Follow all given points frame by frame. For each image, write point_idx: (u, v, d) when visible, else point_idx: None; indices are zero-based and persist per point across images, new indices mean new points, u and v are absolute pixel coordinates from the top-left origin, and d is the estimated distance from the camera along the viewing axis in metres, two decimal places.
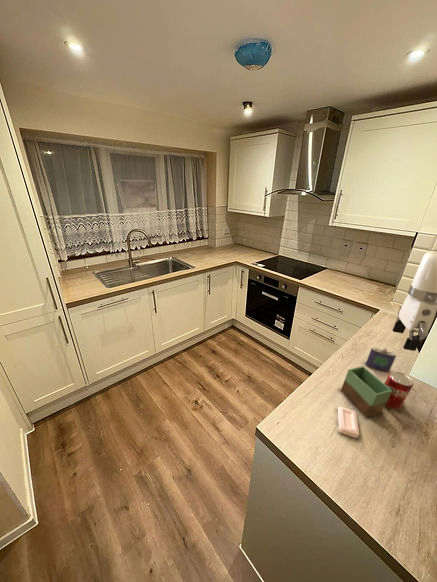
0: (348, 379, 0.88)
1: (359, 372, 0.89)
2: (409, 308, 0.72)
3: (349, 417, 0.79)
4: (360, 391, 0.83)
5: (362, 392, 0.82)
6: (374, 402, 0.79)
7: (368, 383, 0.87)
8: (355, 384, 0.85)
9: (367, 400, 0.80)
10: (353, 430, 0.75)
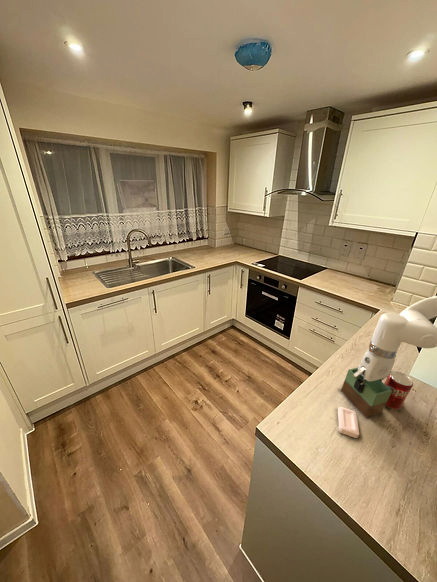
0: (348, 379, 0.88)
1: None
2: None
3: (350, 417, 0.79)
4: None
5: (362, 392, 0.82)
6: (374, 402, 0.79)
7: (368, 383, 0.87)
8: None
9: (367, 400, 0.80)
10: (353, 430, 0.75)
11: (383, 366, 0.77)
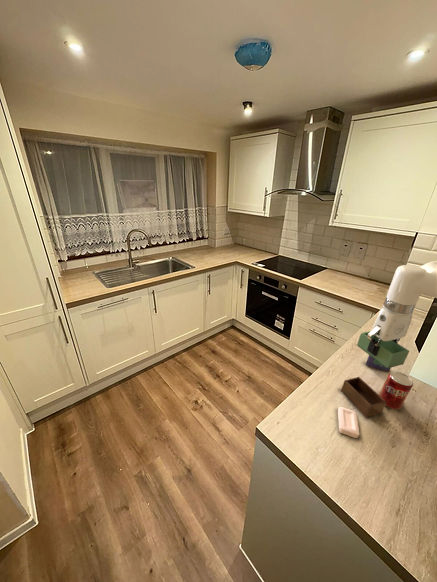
0: (361, 343, 0.83)
1: None
2: None
3: (350, 417, 0.79)
4: None
5: (377, 354, 0.77)
6: (390, 363, 0.73)
7: (382, 347, 0.82)
8: None
9: (382, 362, 0.75)
10: (353, 430, 0.75)
11: (400, 323, 0.72)
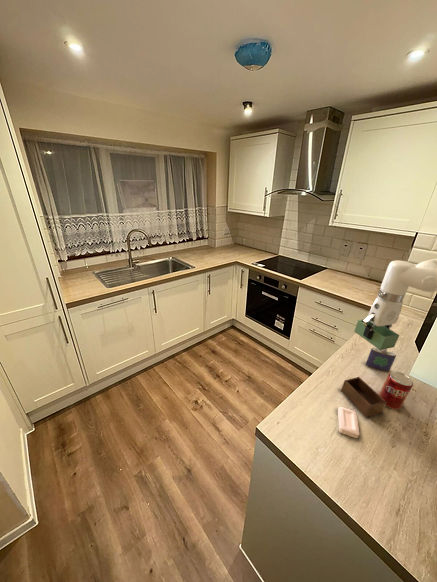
0: (358, 329, 0.94)
1: None
2: None
3: (350, 417, 0.79)
4: None
5: (371, 338, 0.89)
6: (383, 345, 0.85)
7: None
8: None
9: (376, 345, 0.87)
10: (353, 430, 0.75)
11: (391, 311, 0.83)
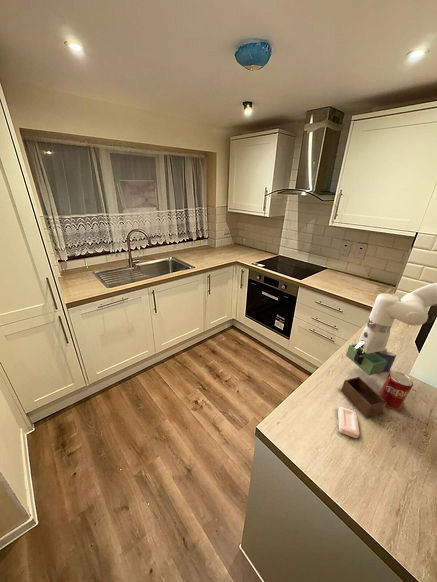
0: (349, 354, 1.00)
1: None
2: None
3: (350, 417, 0.79)
4: None
5: (361, 364, 0.94)
6: (371, 371, 0.91)
7: (366, 357, 0.99)
8: None
9: (365, 370, 0.93)
10: (353, 430, 0.75)
11: (379, 340, 0.89)
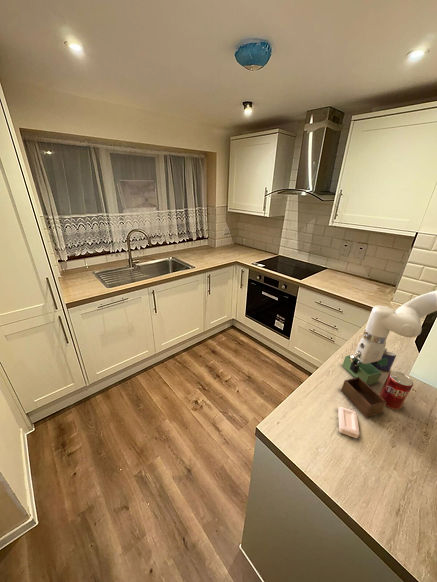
0: (345, 364, 1.03)
1: None
2: None
3: (350, 418, 0.79)
4: (355, 374, 0.98)
5: (357, 374, 0.97)
6: (367, 382, 0.94)
7: (362, 367, 1.02)
8: None
9: None
10: (353, 430, 0.75)
11: (375, 350, 0.91)
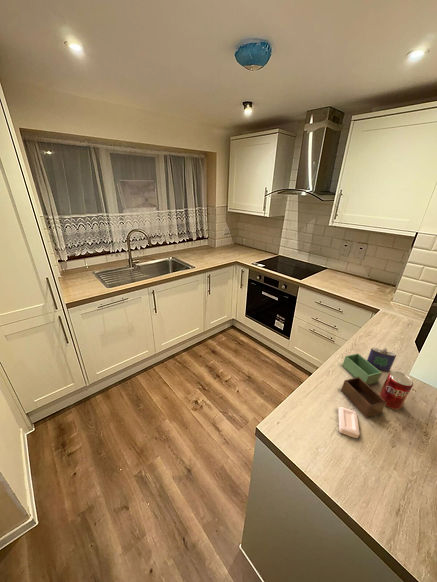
0: (345, 364, 1.03)
1: (354, 358, 1.04)
2: None
3: (350, 418, 0.79)
4: (355, 374, 0.98)
5: (357, 374, 0.97)
6: (367, 382, 0.94)
7: (362, 367, 1.02)
8: (351, 368, 1.00)
9: None
10: (353, 430, 0.75)
11: None
